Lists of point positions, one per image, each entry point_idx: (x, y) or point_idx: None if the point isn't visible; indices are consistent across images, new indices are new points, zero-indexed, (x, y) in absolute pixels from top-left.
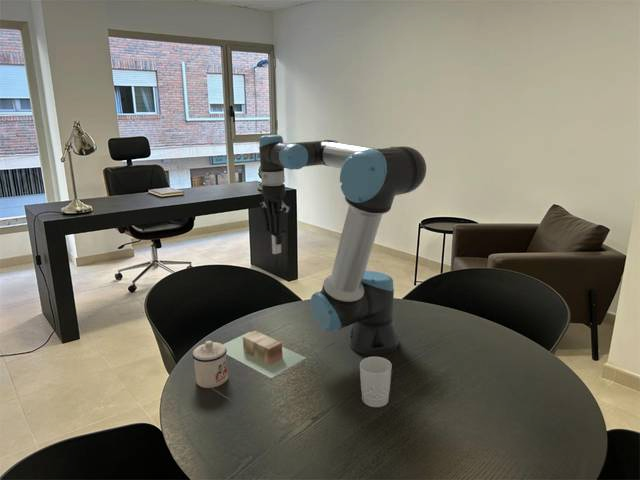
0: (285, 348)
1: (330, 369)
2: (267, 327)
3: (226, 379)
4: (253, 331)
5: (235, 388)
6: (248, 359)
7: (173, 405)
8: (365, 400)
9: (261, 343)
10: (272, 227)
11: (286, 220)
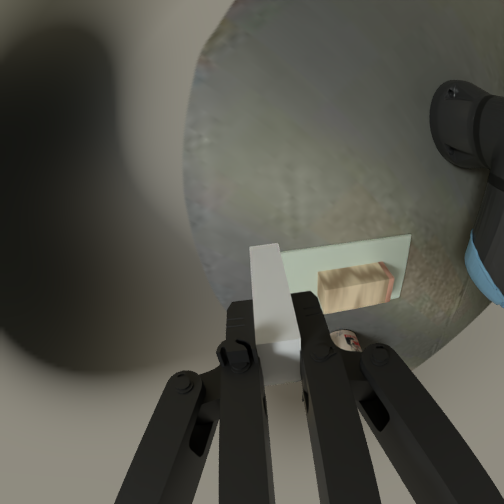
0: (367, 241)
1: (447, 227)
2: (268, 214)
3: (355, 335)
4: (325, 294)
5: (373, 330)
6: None
7: None
8: None
9: (368, 302)
10: (268, 435)
11: (459, 451)
